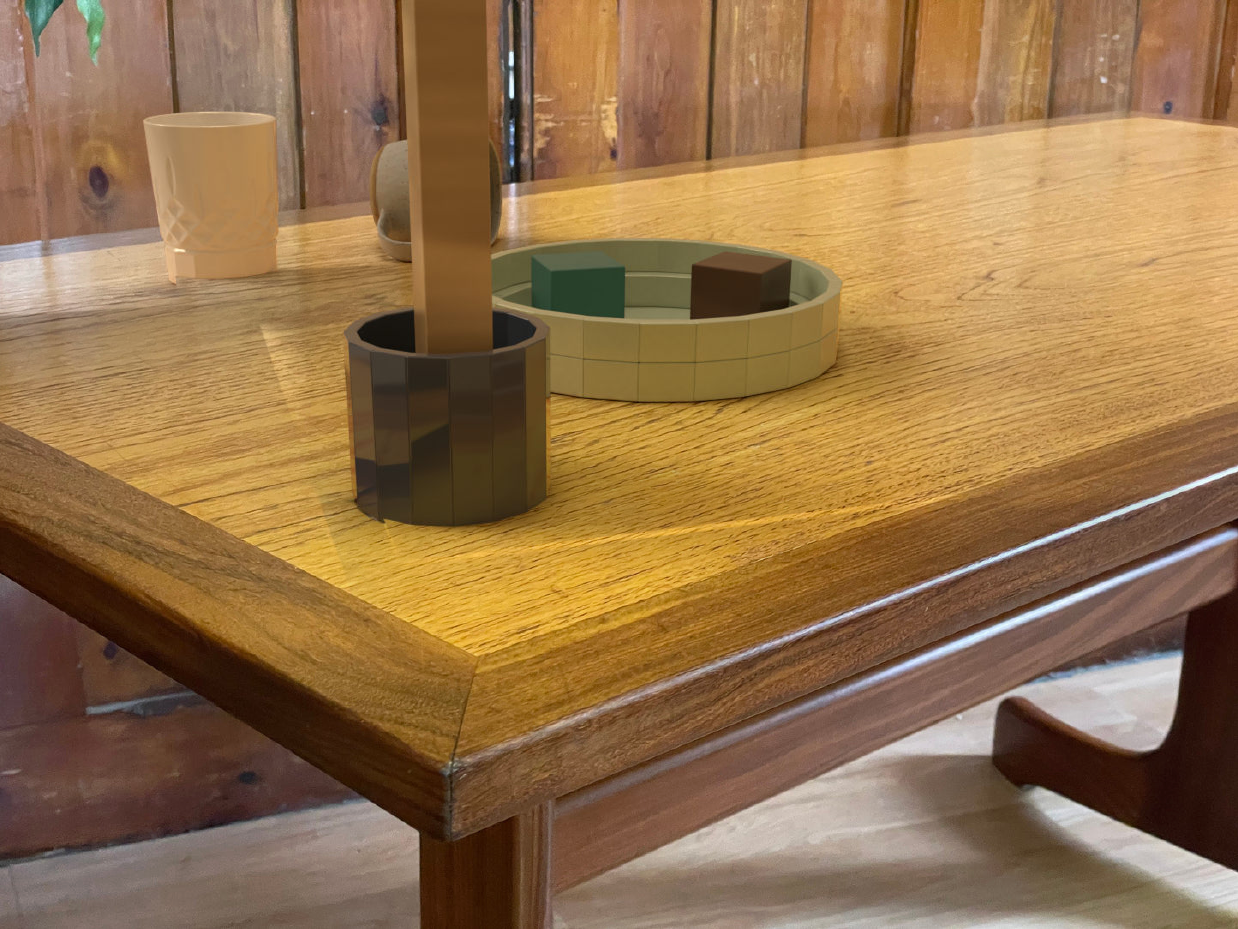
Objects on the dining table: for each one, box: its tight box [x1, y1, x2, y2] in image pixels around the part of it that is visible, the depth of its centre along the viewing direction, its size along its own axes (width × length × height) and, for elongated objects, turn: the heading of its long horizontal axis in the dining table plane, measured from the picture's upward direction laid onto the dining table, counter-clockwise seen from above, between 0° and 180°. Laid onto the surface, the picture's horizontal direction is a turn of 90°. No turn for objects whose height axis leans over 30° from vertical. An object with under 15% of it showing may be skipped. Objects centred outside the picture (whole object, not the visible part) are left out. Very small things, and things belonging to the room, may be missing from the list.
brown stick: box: [401, 0, 493, 354], centre depth 48 cm, size 2×2×20 cm
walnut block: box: [690, 251, 792, 320], centre depth 73 cm, size 4×4×4 cm
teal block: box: [531, 251, 625, 319], centre depth 73 cm, size 4×4×4 cm
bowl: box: [491, 237, 844, 403], centre depth 71 cm, size 19×19×4 cm
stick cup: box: [342, 306, 552, 528], centre depth 51 cm, size 7×7×7 cm
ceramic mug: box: [368, 137, 503, 263], centre depth 96 cm, size 11×8×8 cm
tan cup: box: [142, 111, 279, 285], centre depth 86 cm, size 8×8×10 cm
